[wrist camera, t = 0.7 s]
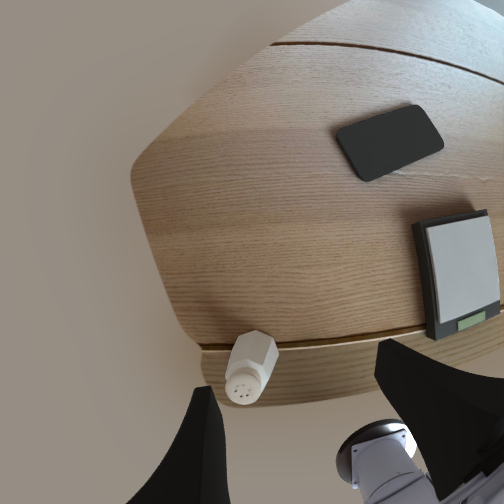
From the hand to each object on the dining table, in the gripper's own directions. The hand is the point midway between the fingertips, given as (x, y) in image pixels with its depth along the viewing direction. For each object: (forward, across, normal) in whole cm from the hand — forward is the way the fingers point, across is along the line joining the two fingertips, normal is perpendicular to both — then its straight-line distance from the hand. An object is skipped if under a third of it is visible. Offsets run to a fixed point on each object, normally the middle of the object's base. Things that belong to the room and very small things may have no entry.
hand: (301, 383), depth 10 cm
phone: (+23, -21, -9) cm, 32 cm away
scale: (+15, -26, +7) cm, 30 cm away
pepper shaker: (+18, +1, +12) cm, 21 cm away
